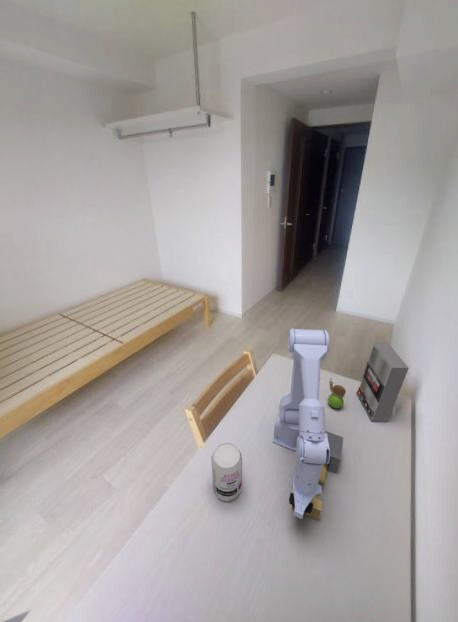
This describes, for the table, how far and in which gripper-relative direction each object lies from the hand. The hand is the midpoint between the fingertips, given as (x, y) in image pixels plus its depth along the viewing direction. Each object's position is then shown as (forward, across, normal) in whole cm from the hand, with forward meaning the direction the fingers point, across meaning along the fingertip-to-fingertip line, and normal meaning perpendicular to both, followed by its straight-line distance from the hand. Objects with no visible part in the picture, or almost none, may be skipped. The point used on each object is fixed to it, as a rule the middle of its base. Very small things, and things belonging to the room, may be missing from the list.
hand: (300, 502), depth 72 cm
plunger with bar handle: (+2, +6, -1) cm, 7 cm away
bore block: (+2, +18, -3) cm, 18 cm away
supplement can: (+3, -4, +20) cm, 20 cm away
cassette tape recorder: (+3, +46, -17) cm, 49 cm away
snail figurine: (+3, +40, -4) cm, 41 cm away
